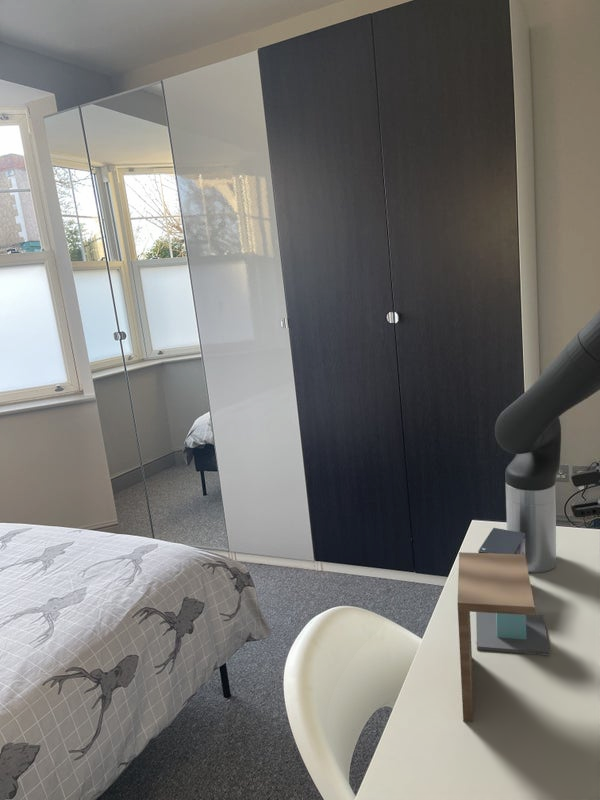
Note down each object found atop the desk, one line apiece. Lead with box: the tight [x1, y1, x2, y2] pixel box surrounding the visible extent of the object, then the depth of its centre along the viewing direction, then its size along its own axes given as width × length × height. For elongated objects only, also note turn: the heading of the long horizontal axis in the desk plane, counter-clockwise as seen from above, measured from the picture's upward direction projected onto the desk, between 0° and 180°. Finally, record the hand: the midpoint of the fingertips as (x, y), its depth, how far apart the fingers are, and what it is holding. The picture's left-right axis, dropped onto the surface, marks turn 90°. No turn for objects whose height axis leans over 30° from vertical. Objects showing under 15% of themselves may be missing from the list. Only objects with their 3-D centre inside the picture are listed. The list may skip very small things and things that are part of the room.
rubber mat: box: [475, 612, 551, 656], centre depth 101 cm, size 10×11×1 cm
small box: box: [477, 527, 525, 554], centre depth 112 cm, size 11×6×10 cm, turn 148°
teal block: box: [496, 613, 526, 639], centre depth 99 cm, size 4×4×12 cm
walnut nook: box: [457, 551, 536, 723], centre depth 86 cm, size 14×10×18 cm
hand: (572, 495), depth 95 cm, fingers open, 8 cm apart
